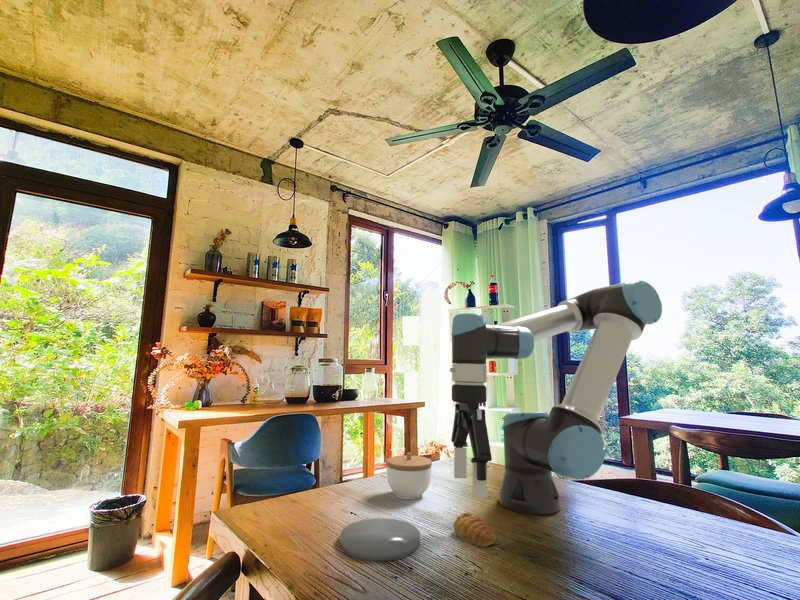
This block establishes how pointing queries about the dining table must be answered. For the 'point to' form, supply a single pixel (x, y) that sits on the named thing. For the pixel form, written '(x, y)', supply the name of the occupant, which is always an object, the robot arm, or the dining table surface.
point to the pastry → (474, 530)
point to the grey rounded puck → (380, 539)
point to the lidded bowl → (408, 475)
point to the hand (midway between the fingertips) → (469, 487)
